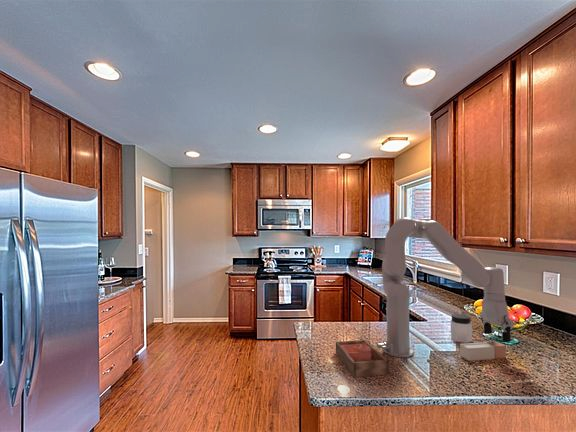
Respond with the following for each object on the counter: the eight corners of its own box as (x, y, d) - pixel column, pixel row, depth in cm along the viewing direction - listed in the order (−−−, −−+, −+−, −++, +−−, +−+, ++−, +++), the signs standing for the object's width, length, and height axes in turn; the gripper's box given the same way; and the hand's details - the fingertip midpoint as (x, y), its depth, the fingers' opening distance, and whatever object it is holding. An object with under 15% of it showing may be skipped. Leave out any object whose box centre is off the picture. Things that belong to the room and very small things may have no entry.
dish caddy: (353, 376, 116) (353, 363, 116) (335, 353, 138) (335, 341, 138) (388, 374, 118) (388, 360, 118) (365, 351, 140) (364, 339, 140)
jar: (465, 345, 146) (464, 319, 147) (448, 340, 153) (447, 315, 154) (475, 341, 151) (474, 316, 152) (458, 337, 158) (457, 312, 159)
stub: (495, 358, 130) (495, 346, 130) (486, 353, 135) (485, 341, 135) (506, 357, 131) (505, 345, 131) (496, 353, 136) (496, 341, 136)
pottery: (340, 355, 137) (340, 332, 137) (360, 353, 138) (360, 330, 139) (356, 373, 119) (356, 347, 120) (379, 371, 121) (379, 345, 121)
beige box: (468, 360, 128) (468, 348, 128) (460, 355, 133) (459, 343, 133) (494, 358, 130) (494, 346, 130) (485, 354, 135) (485, 342, 135)
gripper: (471, 293, 142) (474, 331, 141) (503, 301, 125) (506, 345, 124) (486, 292, 143) (489, 330, 142) (519, 300, 126) (522, 343, 125)
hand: (497, 337), depth 133 cm, fingers open, 9 cm apart
